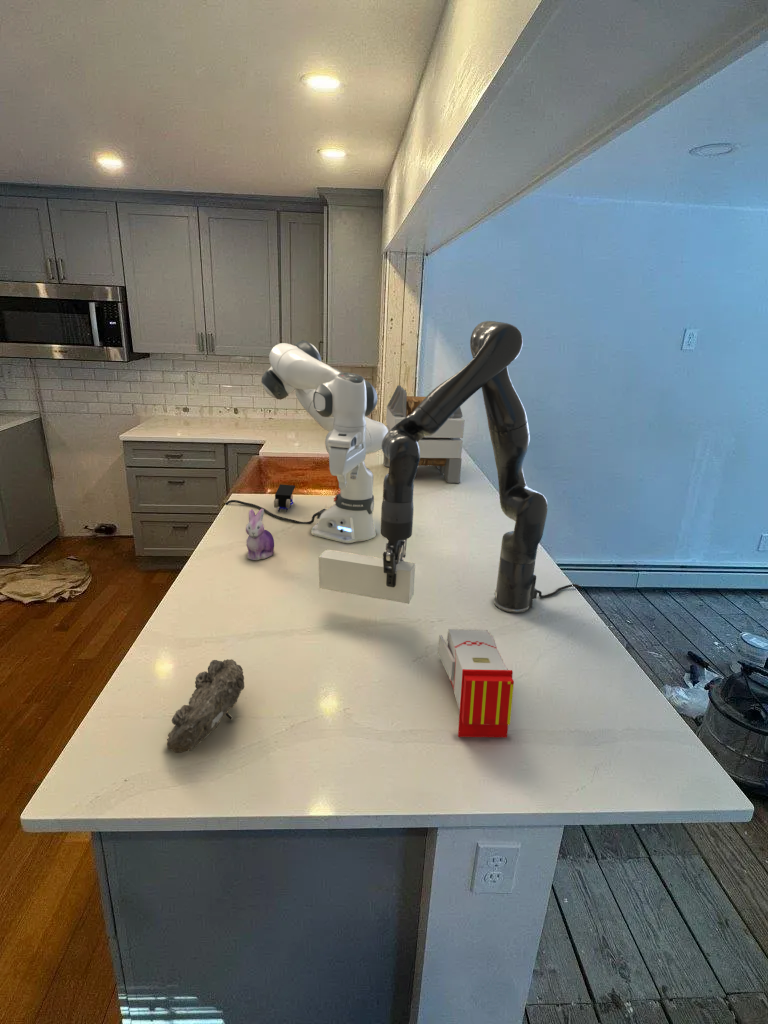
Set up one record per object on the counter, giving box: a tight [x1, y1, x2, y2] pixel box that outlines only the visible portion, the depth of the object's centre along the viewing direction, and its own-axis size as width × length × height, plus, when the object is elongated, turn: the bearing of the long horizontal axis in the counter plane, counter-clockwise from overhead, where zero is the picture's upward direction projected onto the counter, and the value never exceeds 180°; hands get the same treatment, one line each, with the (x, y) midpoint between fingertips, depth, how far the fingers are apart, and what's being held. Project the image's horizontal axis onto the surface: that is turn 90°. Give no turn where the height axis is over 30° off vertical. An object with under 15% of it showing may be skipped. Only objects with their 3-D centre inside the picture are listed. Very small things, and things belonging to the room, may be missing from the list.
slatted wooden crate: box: [383, 384, 465, 484], centre depth 268 cm, size 34×33×41 cm
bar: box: [318, 549, 416, 605], centre depth 141 cm, size 23×5×9 cm, turn 74°
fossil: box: [166, 658, 245, 754], centre depth 106 cm, size 22×10×15 cm
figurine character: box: [273, 484, 296, 513], centre depth 219 cm, size 7×8×15 cm
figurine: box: [245, 507, 275, 561], centre depth 176 cm, size 9×10×15 cm
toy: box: [437, 628, 515, 738], centre depth 117 cm, size 12×13×30 cm
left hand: (348, 483), depth 159 cm, fingers open, 8 cm apart
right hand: (394, 581), depth 139 cm, fingers closed on bar, 5 cm apart
